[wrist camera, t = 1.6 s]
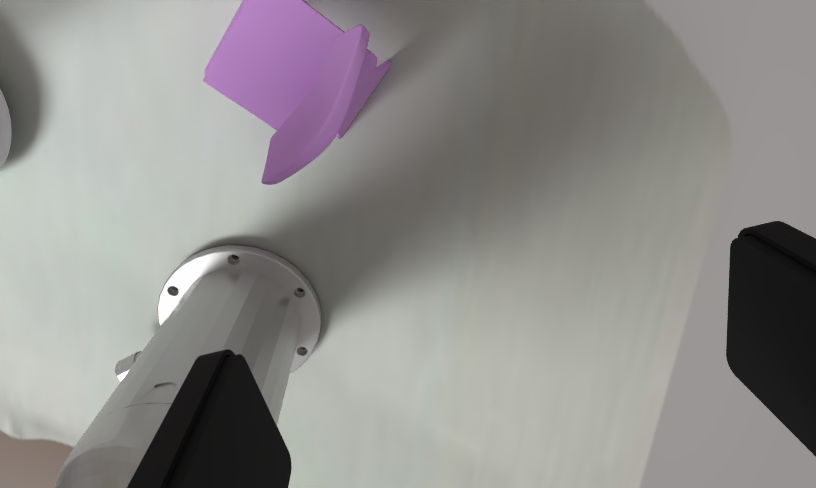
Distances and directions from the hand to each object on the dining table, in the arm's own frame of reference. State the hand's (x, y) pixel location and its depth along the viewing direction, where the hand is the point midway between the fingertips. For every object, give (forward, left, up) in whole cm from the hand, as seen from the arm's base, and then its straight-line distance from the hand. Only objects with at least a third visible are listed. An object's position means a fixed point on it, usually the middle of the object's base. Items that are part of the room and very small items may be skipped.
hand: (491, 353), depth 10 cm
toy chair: (-4, +6, -28) cm, 29 cm away
